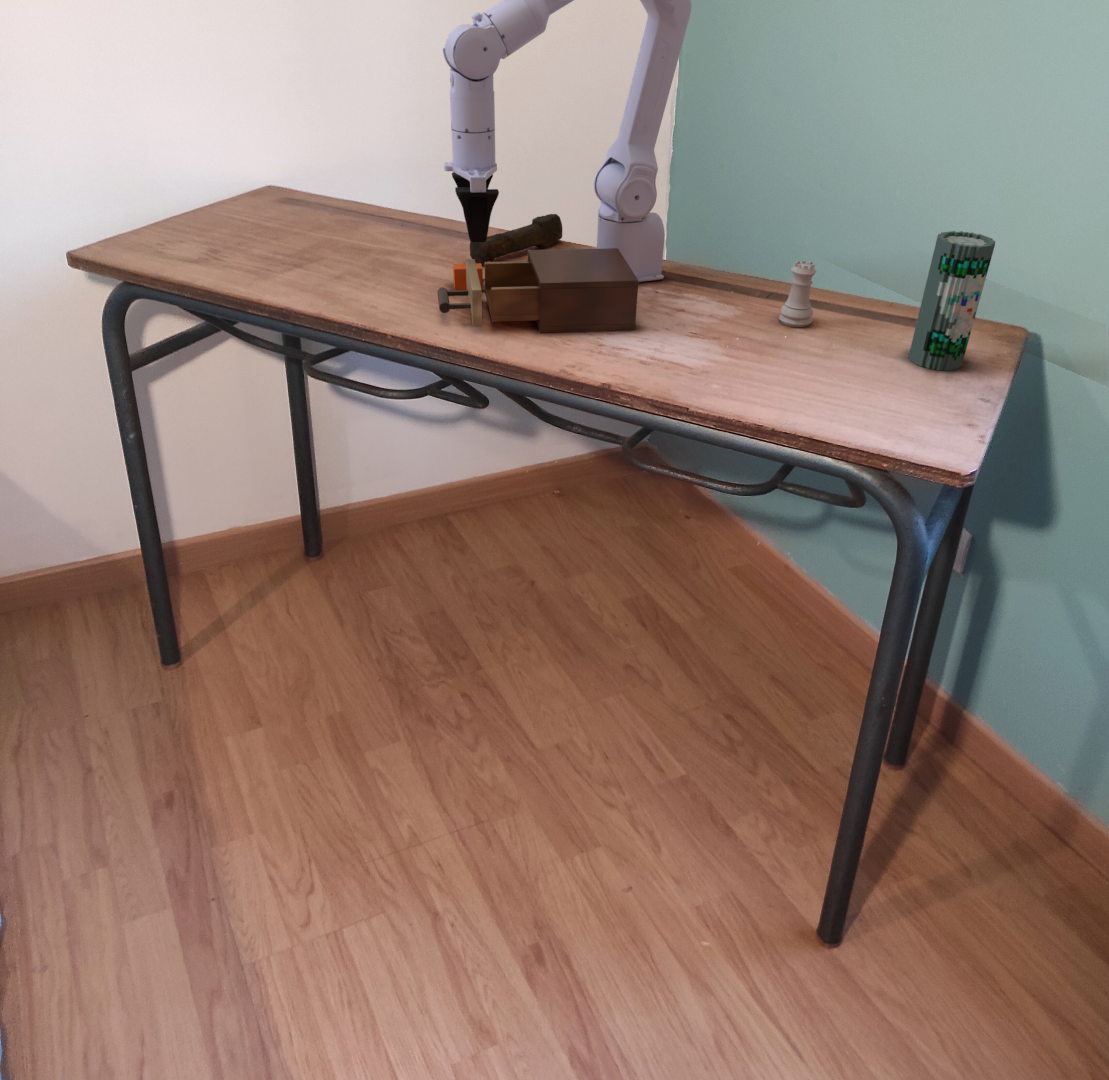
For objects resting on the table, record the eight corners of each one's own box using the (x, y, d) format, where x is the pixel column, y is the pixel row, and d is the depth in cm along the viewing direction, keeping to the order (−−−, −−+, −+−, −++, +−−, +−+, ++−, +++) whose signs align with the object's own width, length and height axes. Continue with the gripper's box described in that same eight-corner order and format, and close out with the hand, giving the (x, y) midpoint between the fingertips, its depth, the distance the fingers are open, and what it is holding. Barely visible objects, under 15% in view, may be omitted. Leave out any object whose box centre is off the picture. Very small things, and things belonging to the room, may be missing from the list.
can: (932, 373, 116) (965, 249, 108) (899, 354, 121) (927, 234, 112) (971, 365, 118) (1005, 243, 110) (936, 347, 123) (967, 229, 114)
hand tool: (485, 268, 145) (485, 237, 143) (468, 261, 147) (467, 231, 145) (573, 244, 156) (574, 215, 154) (556, 238, 159) (557, 210, 156)
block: (454, 291, 136) (454, 269, 135) (453, 285, 138) (453, 263, 137) (498, 290, 137) (498, 268, 135) (496, 284, 139) (496, 262, 137)
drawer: (440, 327, 122) (439, 290, 120) (436, 294, 133) (435, 259, 130) (561, 323, 124) (562, 287, 122) (548, 291, 135) (549, 257, 132)
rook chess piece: (792, 330, 127) (802, 270, 122) (771, 318, 130) (780, 260, 126) (818, 325, 128) (829, 265, 124) (797, 314, 132) (807, 256, 127)
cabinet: (539, 332, 124) (540, 282, 120) (527, 296, 135) (527, 249, 132) (635, 329, 126) (638, 280, 122) (615, 294, 137) (617, 247, 133)
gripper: (440, 118, 131) (444, 219, 139) (445, 140, 119) (449, 249, 127) (491, 117, 132) (493, 218, 140) (501, 140, 120) (502, 248, 128)
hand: (475, 233), depth 133 cm, fingers open, 7 cm apart
